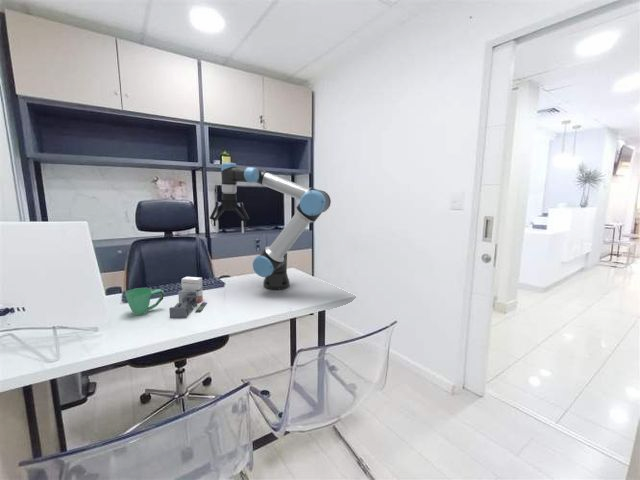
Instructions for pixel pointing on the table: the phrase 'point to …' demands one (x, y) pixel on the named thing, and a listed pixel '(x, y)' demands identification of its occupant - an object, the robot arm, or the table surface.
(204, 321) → the table surface
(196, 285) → the ink box
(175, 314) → the gauge body
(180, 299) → the white branched bar piece
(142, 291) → the mug
